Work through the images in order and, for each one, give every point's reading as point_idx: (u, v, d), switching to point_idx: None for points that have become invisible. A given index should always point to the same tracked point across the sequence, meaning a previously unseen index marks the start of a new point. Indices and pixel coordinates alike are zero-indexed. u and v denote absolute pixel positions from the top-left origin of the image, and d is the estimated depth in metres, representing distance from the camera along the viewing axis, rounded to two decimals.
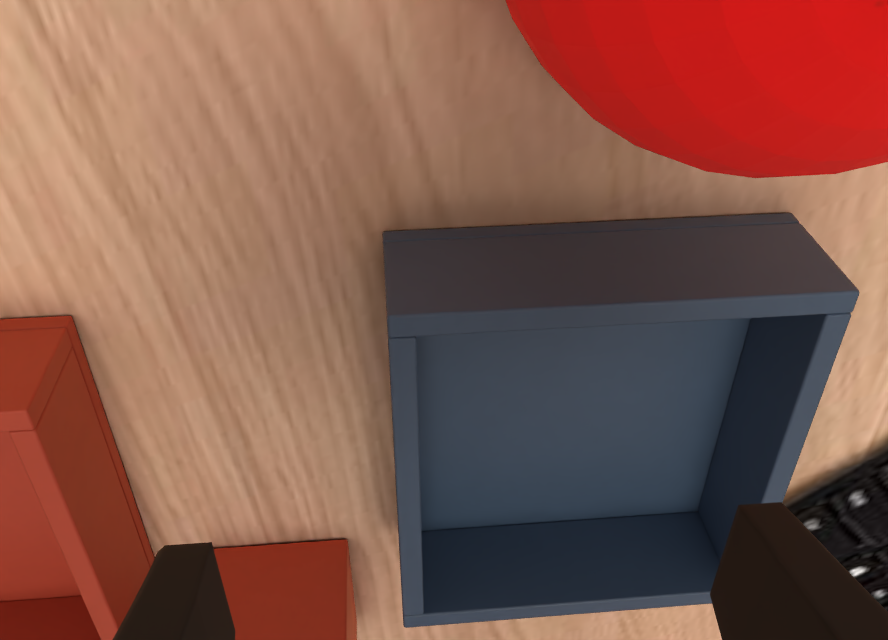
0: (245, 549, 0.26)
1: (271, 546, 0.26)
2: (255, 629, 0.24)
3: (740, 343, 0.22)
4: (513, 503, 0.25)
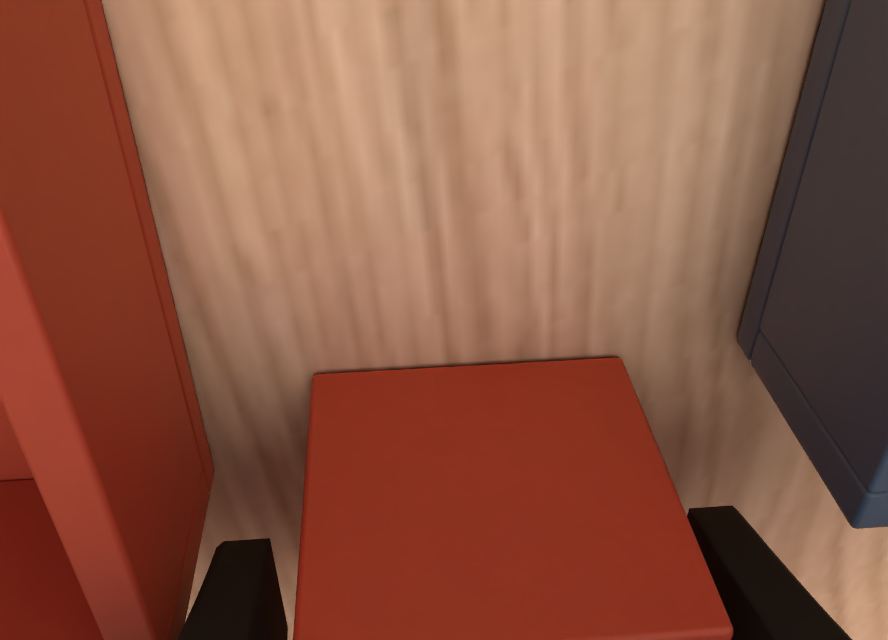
0: (400, 374, 0.12)
1: (457, 369, 0.12)
2: (464, 534, 0.09)
3: None
4: None
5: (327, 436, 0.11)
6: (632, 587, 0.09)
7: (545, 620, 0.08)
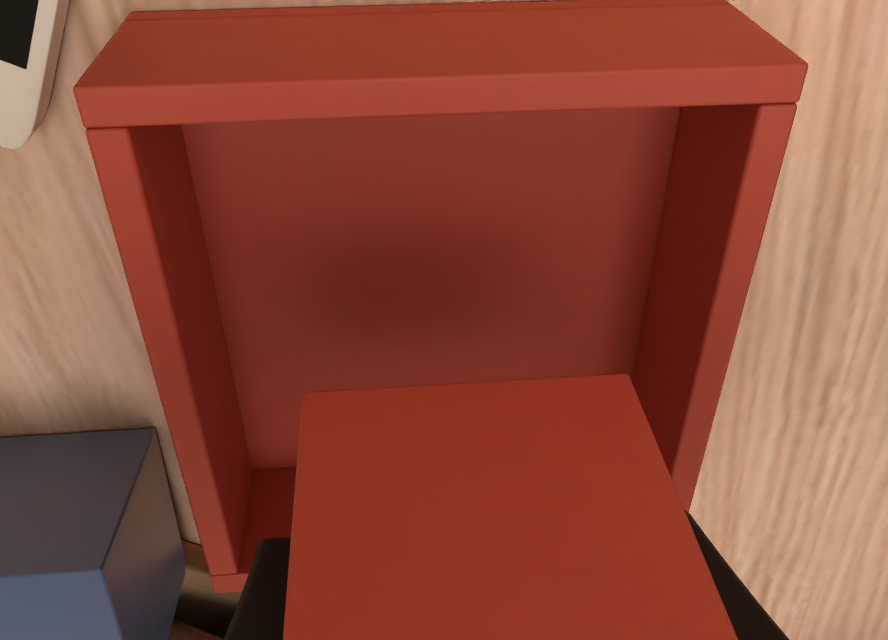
0: (396, 391, 0.11)
1: (456, 386, 0.11)
2: (462, 569, 0.09)
3: None
4: None
5: (317, 460, 0.10)
6: (644, 629, 0.08)
7: None
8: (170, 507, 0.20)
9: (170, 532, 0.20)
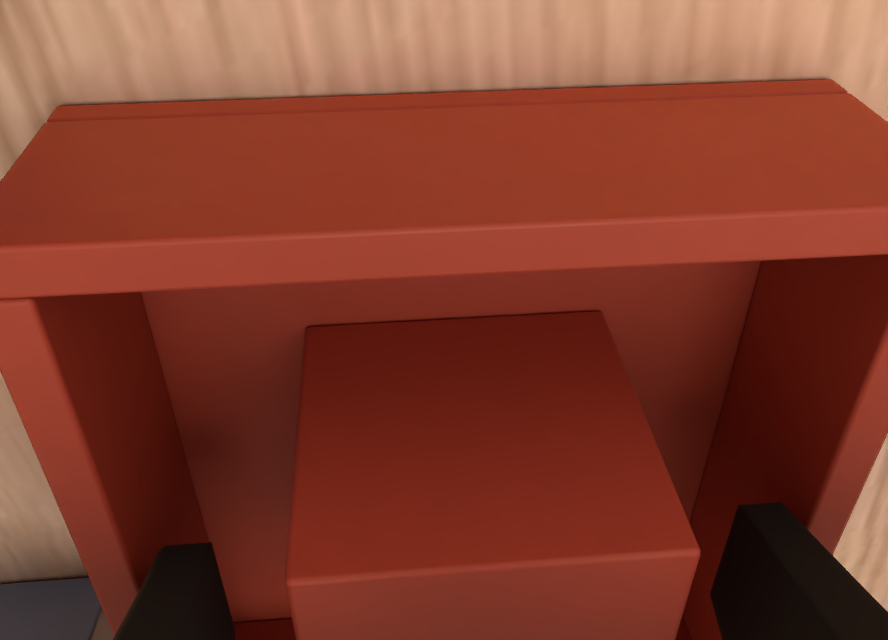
0: (390, 326, 0.12)
1: (445, 321, 0.12)
2: (449, 468, 0.10)
3: None
4: None
5: (319, 382, 0.11)
6: (606, 513, 0.09)
7: (524, 542, 0.09)
8: None
9: None
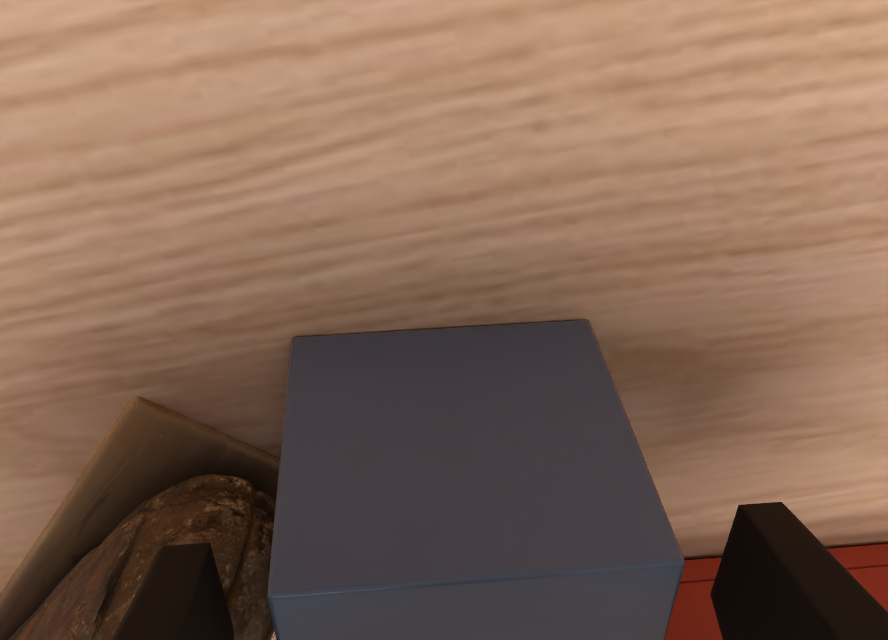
0: None
1: None
2: None
3: None
4: None
5: None
6: None
7: None
8: None
9: None
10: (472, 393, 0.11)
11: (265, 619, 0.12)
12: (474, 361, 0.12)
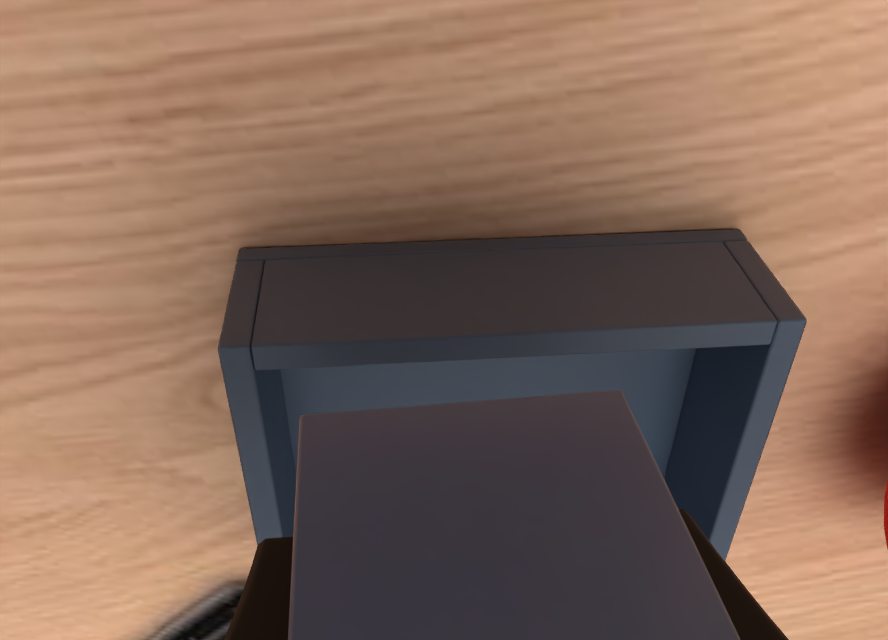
0: None
1: None
2: None
3: None
4: (324, 384, 0.19)
5: None
6: None
7: None
8: None
9: None
10: (501, 477, 0.10)
11: None
12: (501, 439, 0.11)
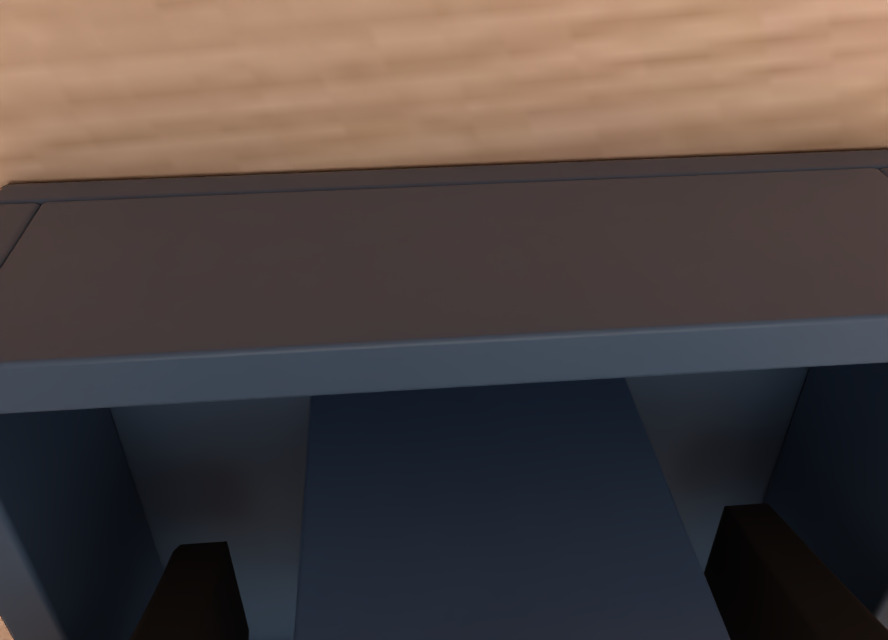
0: None
1: None
2: None
3: None
4: (187, 422, 0.12)
5: None
6: None
7: None
8: None
9: None
10: (504, 460, 0.10)
11: None
12: (505, 423, 0.11)
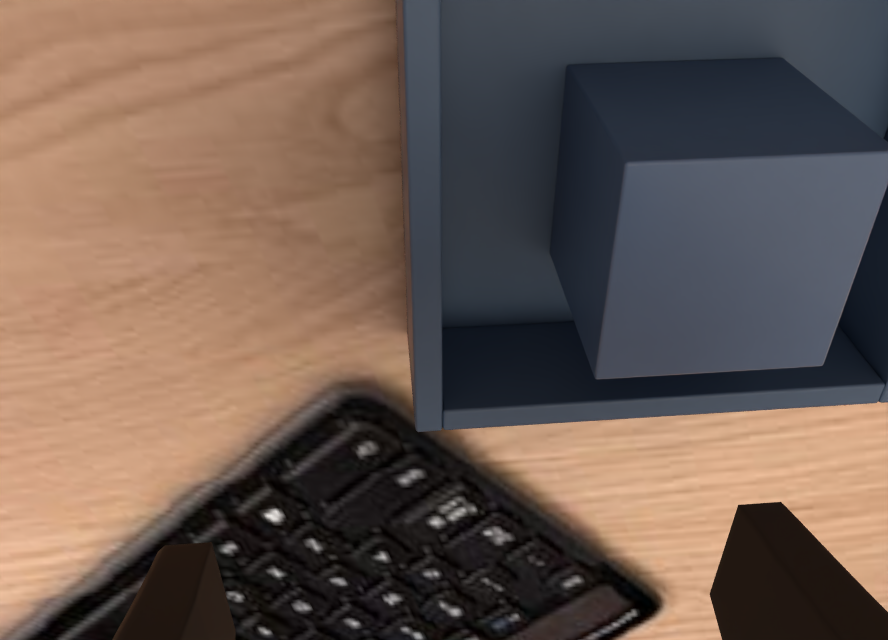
0: None
1: None
2: None
3: None
4: (477, 88, 0.16)
5: None
6: None
7: None
8: None
9: None
10: (716, 87, 0.15)
11: None
12: (709, 75, 0.16)
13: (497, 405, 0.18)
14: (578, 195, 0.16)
